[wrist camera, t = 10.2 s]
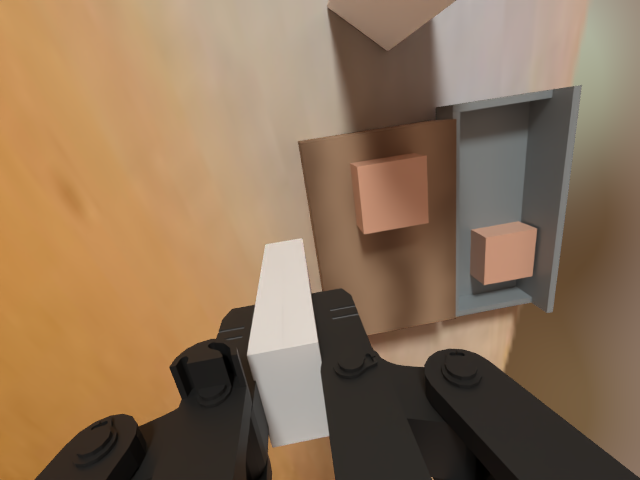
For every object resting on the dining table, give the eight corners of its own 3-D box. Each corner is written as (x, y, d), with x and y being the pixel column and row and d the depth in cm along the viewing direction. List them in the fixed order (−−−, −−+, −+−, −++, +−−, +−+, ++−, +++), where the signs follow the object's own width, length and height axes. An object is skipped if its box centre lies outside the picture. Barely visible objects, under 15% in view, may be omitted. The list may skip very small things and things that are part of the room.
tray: (439, 302, 35) (463, 329, 30) (435, 107, 28) (466, 103, 23) (516, 287, 35) (552, 311, 30) (532, 92, 28) (581, 85, 24)
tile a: (532, 276, 31) (514, 265, 33) (537, 228, 29) (518, 221, 32) (484, 285, 31) (469, 274, 33) (486, 237, 29) (470, 229, 31)
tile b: (356, 224, 26) (364, 234, 24) (350, 163, 24) (357, 167, 22) (415, 214, 26) (428, 222, 24) (413, 153, 24) (426, 155, 22)
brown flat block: (326, 315, 34) (332, 342, 29) (298, 141, 27) (300, 143, 23) (434, 295, 34) (455, 318, 30) (430, 120, 28) (456, 118, 24)
